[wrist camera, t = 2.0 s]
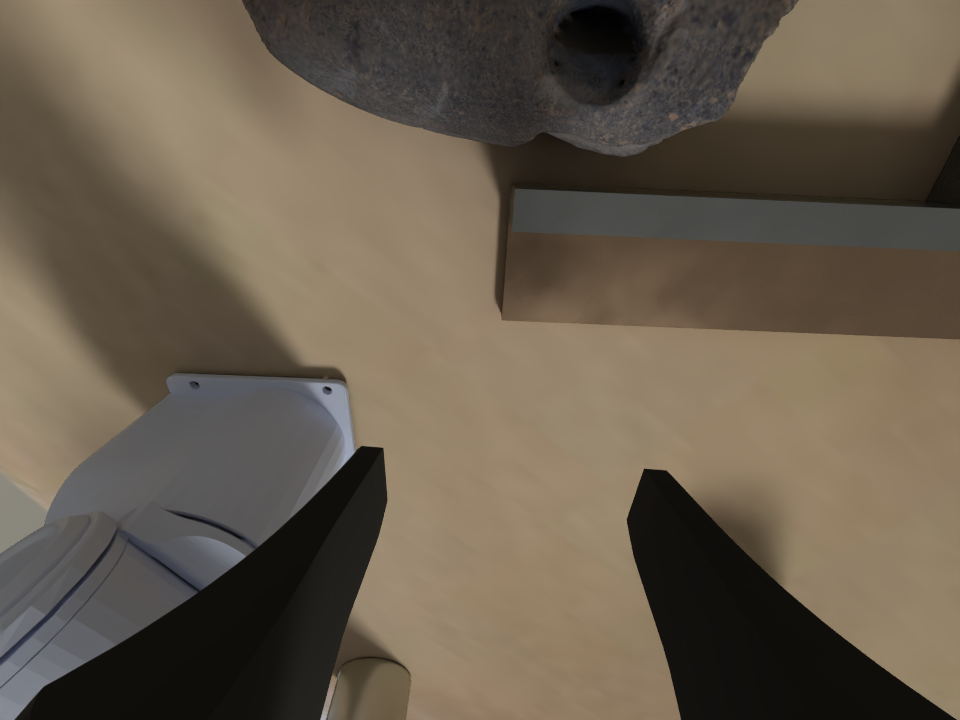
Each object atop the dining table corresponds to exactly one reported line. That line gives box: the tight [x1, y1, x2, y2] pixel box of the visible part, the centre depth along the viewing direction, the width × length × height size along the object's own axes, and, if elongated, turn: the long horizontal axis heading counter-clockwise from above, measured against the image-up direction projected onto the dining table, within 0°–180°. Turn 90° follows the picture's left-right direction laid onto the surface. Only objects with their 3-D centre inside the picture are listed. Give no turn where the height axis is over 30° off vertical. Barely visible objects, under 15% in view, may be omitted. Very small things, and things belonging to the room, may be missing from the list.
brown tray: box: [501, 138, 960, 339], centre depth 14 cm, size 25×20×3 cm
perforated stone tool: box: [242, 0, 798, 157], centre depth 12 cm, size 15×5×7 cm, turn 83°
